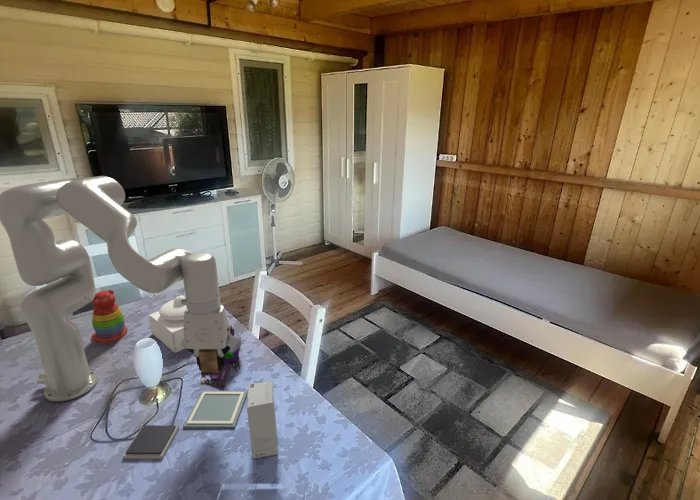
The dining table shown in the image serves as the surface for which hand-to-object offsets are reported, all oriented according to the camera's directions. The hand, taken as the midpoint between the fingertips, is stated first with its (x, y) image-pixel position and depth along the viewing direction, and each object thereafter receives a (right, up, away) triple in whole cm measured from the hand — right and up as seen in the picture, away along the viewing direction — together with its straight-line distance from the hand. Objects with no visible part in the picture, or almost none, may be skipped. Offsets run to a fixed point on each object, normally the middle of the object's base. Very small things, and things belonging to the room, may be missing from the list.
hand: (212, 366), depth 95 cm
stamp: (0, -1, +1) cm, 1 cm away
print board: (0, -13, +5) cm, 14 cm away
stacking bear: (-50, -1, +37) cm, 62 cm away
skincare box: (+15, -17, -6) cm, 23 cm away
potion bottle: (-4, -6, +25) cm, 26 cm away
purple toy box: (0, -8, +14) cm, 16 cm away
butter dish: (-23, -1, +39) cm, 46 cm away
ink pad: (-12, -16, -6) cm, 21 cm away
